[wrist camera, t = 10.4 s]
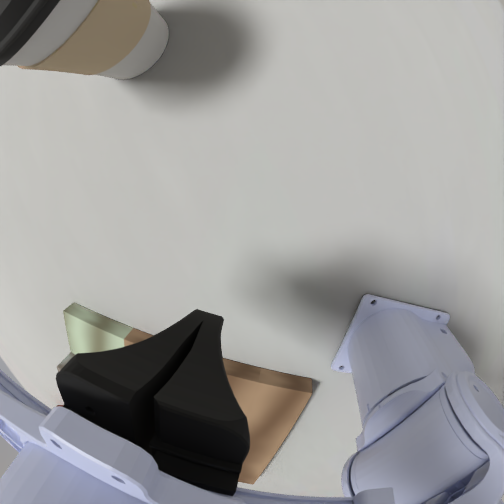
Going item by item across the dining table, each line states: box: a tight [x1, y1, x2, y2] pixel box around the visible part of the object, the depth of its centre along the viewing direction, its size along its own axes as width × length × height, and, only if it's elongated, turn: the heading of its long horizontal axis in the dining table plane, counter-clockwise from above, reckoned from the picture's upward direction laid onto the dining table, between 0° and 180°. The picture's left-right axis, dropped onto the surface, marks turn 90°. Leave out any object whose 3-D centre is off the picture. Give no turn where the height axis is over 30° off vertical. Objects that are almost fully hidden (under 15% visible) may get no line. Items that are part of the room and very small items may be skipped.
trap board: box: [57, 303, 312, 484], centre depth 27 cm, size 26×24×5 cm
